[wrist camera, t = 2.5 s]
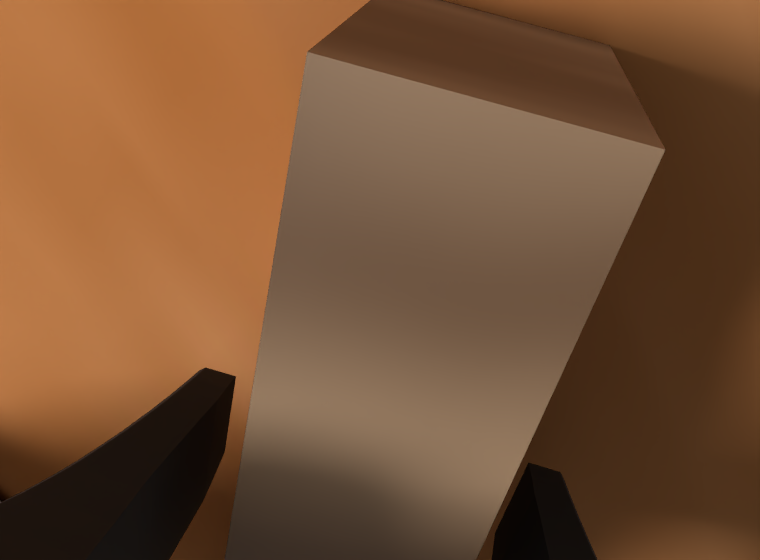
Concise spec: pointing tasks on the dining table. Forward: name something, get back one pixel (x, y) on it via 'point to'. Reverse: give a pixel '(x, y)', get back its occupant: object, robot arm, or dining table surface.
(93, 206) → the dining table surface
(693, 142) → the dining table surface
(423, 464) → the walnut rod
